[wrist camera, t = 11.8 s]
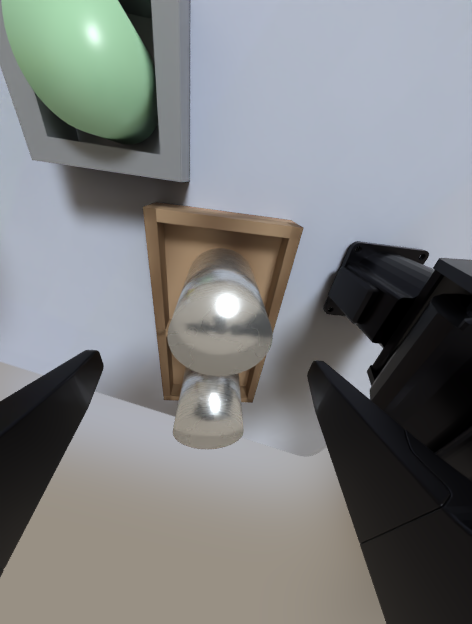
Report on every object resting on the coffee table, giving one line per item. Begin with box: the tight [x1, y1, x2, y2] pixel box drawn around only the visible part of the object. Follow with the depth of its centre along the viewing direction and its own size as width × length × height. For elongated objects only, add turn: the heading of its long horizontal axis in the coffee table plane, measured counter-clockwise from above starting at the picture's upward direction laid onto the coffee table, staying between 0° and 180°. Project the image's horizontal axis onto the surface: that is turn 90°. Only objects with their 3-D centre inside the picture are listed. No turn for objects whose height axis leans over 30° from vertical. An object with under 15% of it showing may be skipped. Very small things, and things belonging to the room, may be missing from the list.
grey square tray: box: [0, 0, 190, 182], centre depth 9 cm, size 7×7×3 cm
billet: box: [167, 248, 273, 376], centre depth 13 cm, size 5×5×7 cm
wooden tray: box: [143, 202, 303, 402], centre depth 18 cm, size 9×18×3 cm, turn 173°
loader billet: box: [173, 367, 243, 449], centre depth 17 cm, size 5×5×7 cm
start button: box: [1, 0, 158, 145], centre depth 9 cm, size 4×4×3 cm
